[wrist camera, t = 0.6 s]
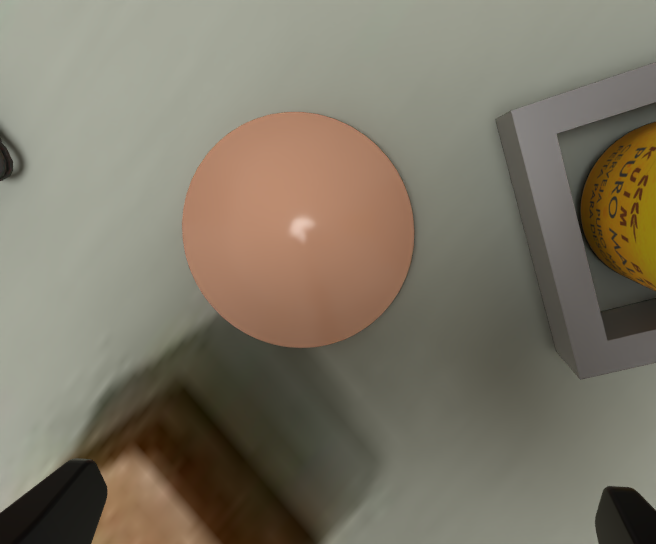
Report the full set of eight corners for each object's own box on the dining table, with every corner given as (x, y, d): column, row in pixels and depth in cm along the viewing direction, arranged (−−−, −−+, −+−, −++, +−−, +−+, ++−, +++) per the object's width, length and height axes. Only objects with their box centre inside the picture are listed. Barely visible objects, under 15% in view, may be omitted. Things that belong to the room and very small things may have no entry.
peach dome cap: (442, 310, 22) (443, 314, 21) (231, 366, 24) (227, 371, 23) (374, 78, 20) (372, 75, 20) (156, 158, 22) (149, 157, 22)
